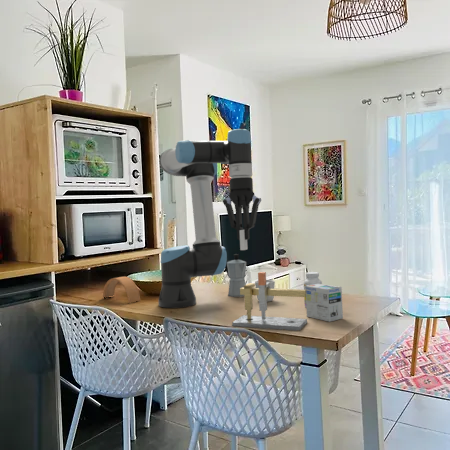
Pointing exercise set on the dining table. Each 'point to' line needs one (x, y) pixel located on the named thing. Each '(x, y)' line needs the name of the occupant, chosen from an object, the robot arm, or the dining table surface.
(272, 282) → the cup
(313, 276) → the supplement bottle
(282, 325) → the bolt plate
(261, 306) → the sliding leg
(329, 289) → the light bulb box
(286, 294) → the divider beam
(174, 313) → the dining table surface
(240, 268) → the coffee maker
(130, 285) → the arch
